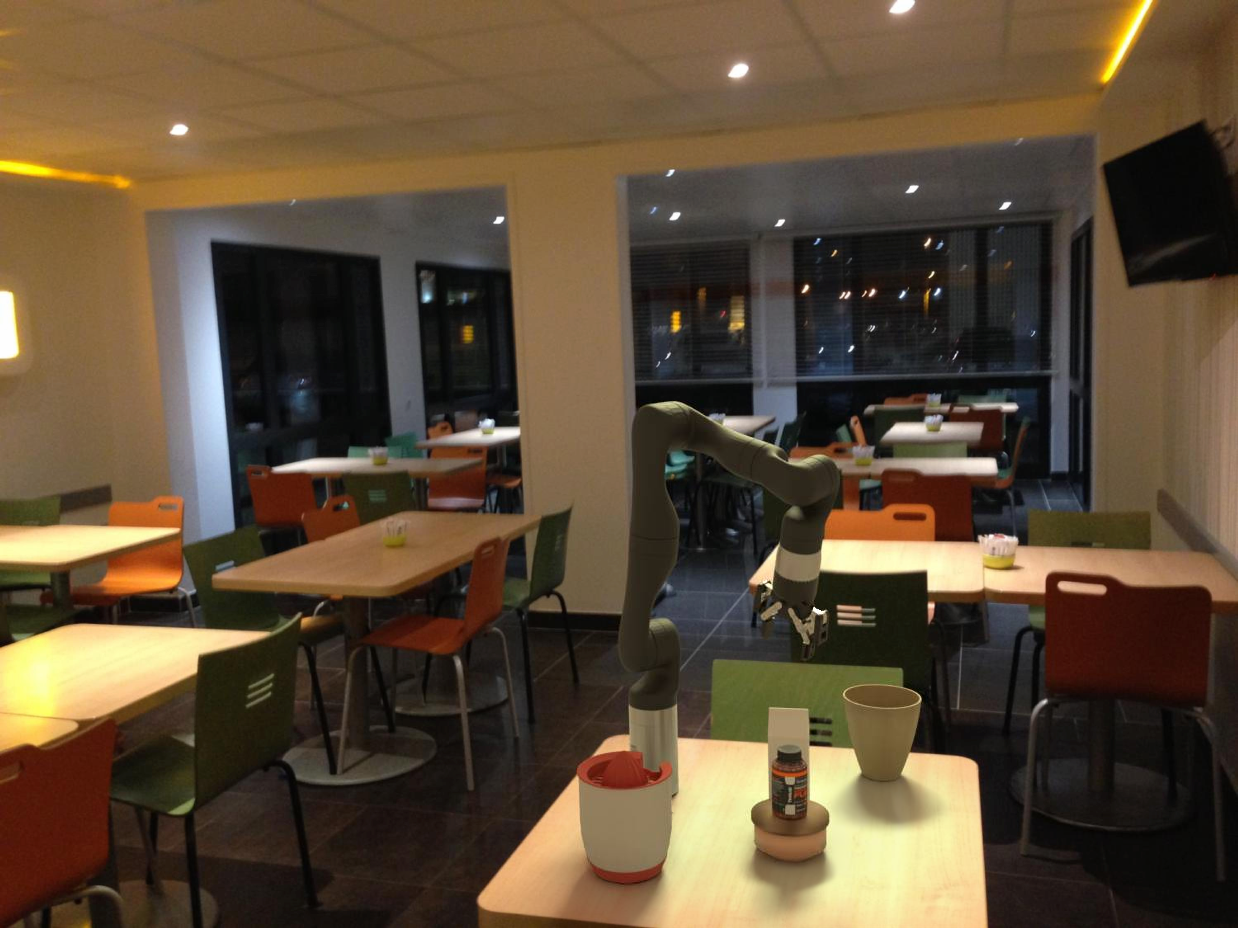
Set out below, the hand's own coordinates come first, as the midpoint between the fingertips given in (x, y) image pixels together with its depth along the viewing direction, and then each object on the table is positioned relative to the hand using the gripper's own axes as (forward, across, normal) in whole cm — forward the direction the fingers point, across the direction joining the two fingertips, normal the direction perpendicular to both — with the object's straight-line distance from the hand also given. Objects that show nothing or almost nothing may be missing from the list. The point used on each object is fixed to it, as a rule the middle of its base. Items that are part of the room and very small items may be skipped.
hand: (786, 647), depth 188 cm
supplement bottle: (+21, -14, +13) cm, 28 cm away
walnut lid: (+21, -14, +13) cm, 28 cm away
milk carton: (+32, -6, +1) cm, 33 cm away
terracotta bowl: (+27, -16, +14) cm, 34 cm away
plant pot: (+35, -11, -24) cm, 44 cm away
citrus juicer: (+28, 0, +36) cm, 45 cm away
